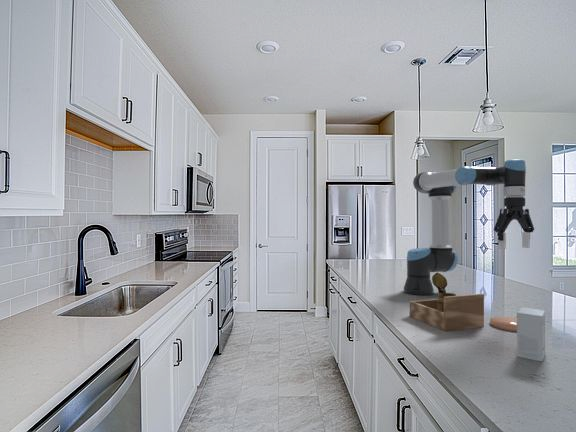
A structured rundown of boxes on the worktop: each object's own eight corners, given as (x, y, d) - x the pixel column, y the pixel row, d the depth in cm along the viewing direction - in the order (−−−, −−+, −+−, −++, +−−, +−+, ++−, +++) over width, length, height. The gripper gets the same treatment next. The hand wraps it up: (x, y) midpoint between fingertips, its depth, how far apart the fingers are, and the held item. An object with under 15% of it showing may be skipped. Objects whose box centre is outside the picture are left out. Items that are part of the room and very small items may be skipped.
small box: (520, 348, 112) (520, 306, 112) (545, 353, 108) (545, 310, 108) (516, 356, 106) (516, 312, 106) (542, 362, 102) (542, 316, 102)
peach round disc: (481, 322, 140) (481, 318, 140) (508, 319, 144) (508, 315, 144) (514, 333, 127) (514, 329, 127) (543, 329, 131) (543, 325, 131)
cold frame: (409, 316, 149) (409, 286, 149) (443, 312, 154) (444, 284, 154) (446, 331, 129) (446, 297, 129) (483, 326, 135) (483, 294, 135)
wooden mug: (447, 316, 149) (447, 272, 149) (465, 326, 135) (465, 278, 135) (426, 316, 148) (426, 272, 148) (442, 326, 135) (442, 278, 135)
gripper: (500, 196, 143) (500, 250, 143) (544, 197, 151) (544, 248, 152) (484, 196, 150) (484, 248, 150) (527, 198, 159) (526, 246, 159)
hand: (514, 248), depth 151 cm, fingers open, 13 cm apart
